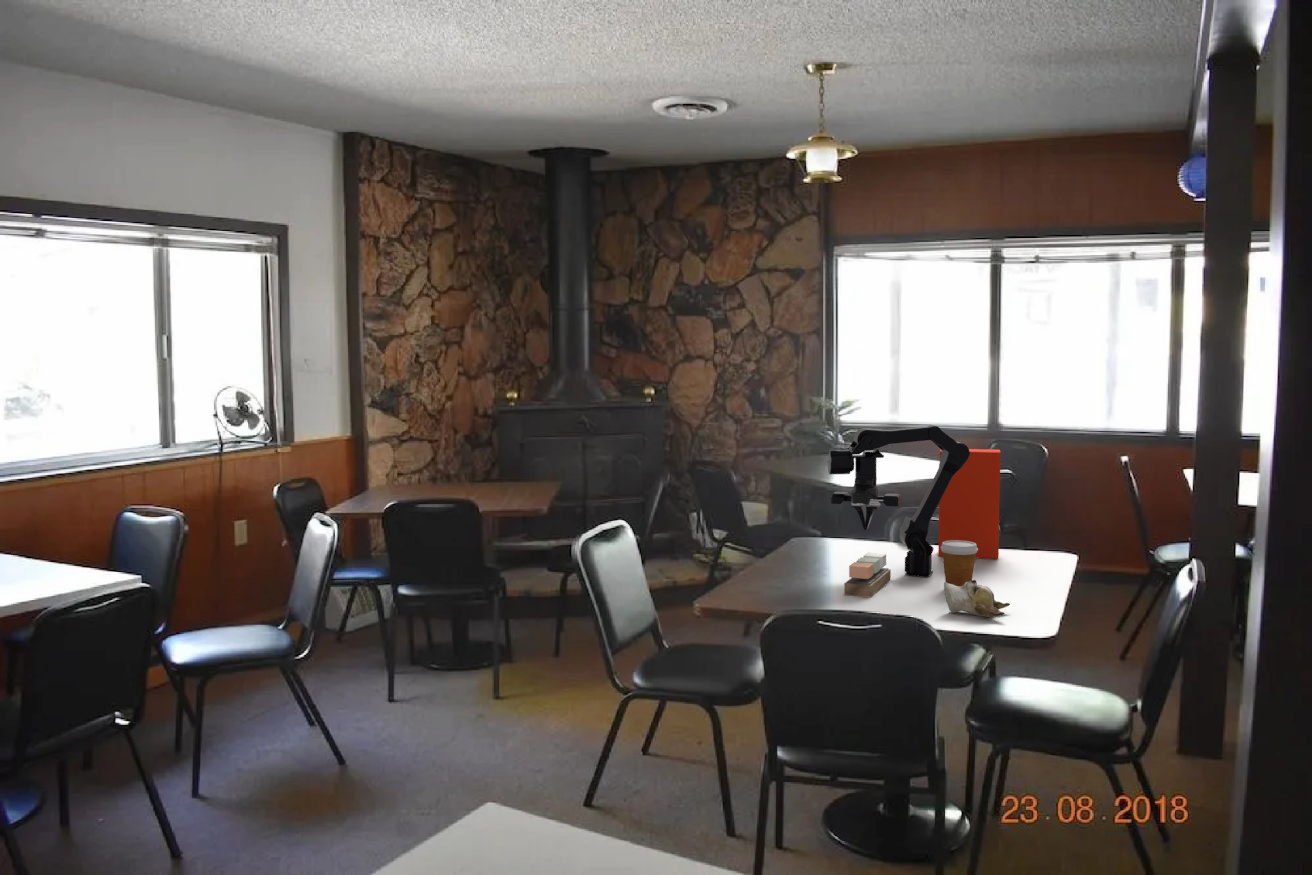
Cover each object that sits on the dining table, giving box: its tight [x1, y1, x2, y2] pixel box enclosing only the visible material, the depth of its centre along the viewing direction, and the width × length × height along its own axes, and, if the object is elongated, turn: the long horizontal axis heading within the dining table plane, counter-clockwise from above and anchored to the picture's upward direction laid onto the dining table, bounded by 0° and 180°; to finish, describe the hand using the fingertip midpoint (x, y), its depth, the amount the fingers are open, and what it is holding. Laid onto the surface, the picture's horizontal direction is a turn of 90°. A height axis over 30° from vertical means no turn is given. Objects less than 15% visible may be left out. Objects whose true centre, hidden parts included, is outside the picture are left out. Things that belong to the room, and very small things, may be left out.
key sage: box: [855, 556, 880, 574], centre depth 285 cm, size 5×5×3 cm
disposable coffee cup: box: [940, 540, 978, 587], centre depth 282 cm, size 10×10×12 cm
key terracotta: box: [848, 561, 873, 579], centre depth 278 cm, size 5×5×3 cm
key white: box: [862, 551, 887, 568], centre depth 291 cm, size 5×5×3 cm
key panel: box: [843, 567, 892, 598], centre depth 285 cm, size 7×21×3 cm, turn 154°
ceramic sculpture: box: [943, 579, 1011, 618], centre depth 256 cm, size 11×9×15 cm
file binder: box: [937, 448, 1002, 560], centre depth 324 cm, size 8×17×32 cm, turn 74°
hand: (865, 529), depth 299 cm, fingers closed
